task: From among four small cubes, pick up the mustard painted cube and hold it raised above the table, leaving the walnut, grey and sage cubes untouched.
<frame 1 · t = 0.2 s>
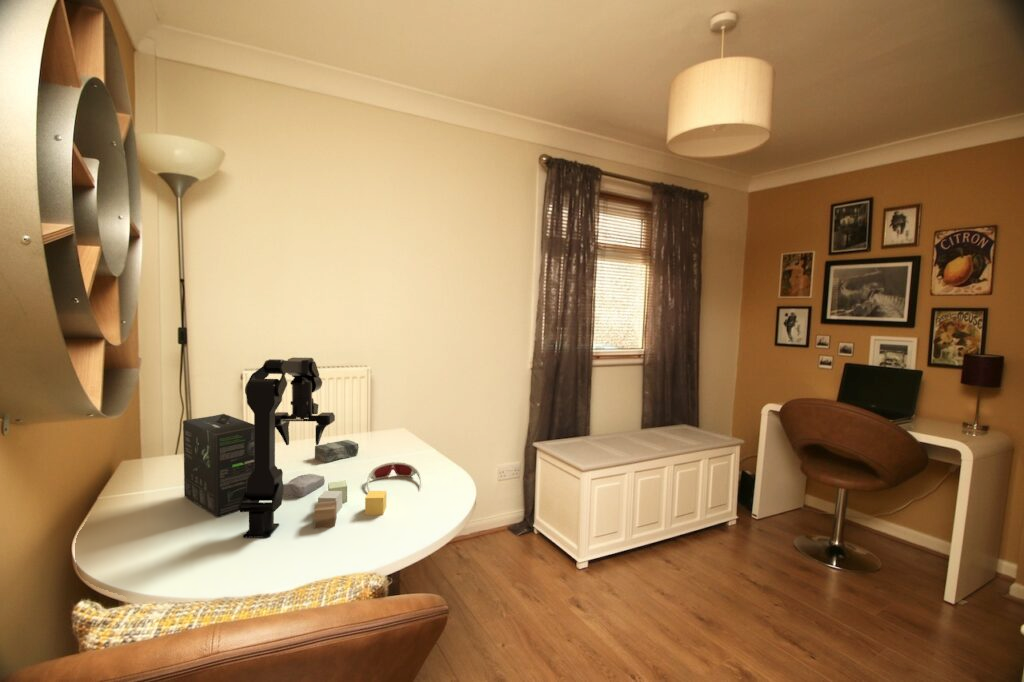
hand: (302, 444, 145), 15 cm above the table, fingers open, 9 cm apart
walnut cube: (325, 523, 123), on the table
sunglasses: (394, 485, 151), on the table
mustard cube: (376, 510, 131), on the table
stone block 2: (301, 490, 145), on the table
stone block: (337, 457, 178), on the table
sage cube: (337, 500, 138), on the table
grey cube: (330, 511, 131), on the table
headset box: (221, 501, 136), on the table
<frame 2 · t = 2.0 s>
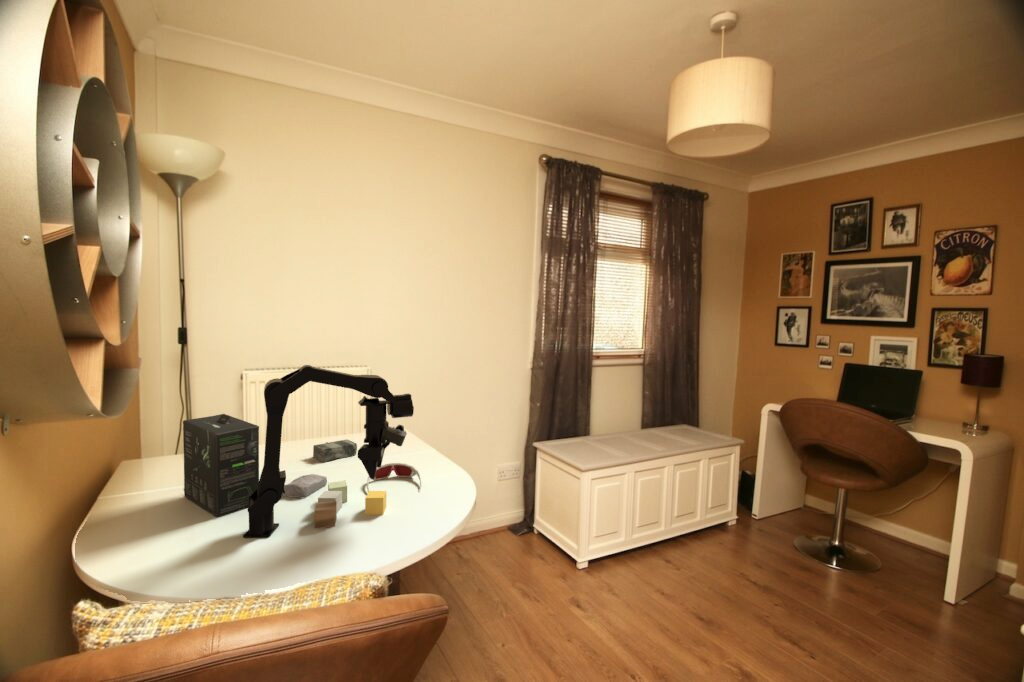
hand: (375, 472, 131), 11 cm above the table, fingers open, 9 cm apart
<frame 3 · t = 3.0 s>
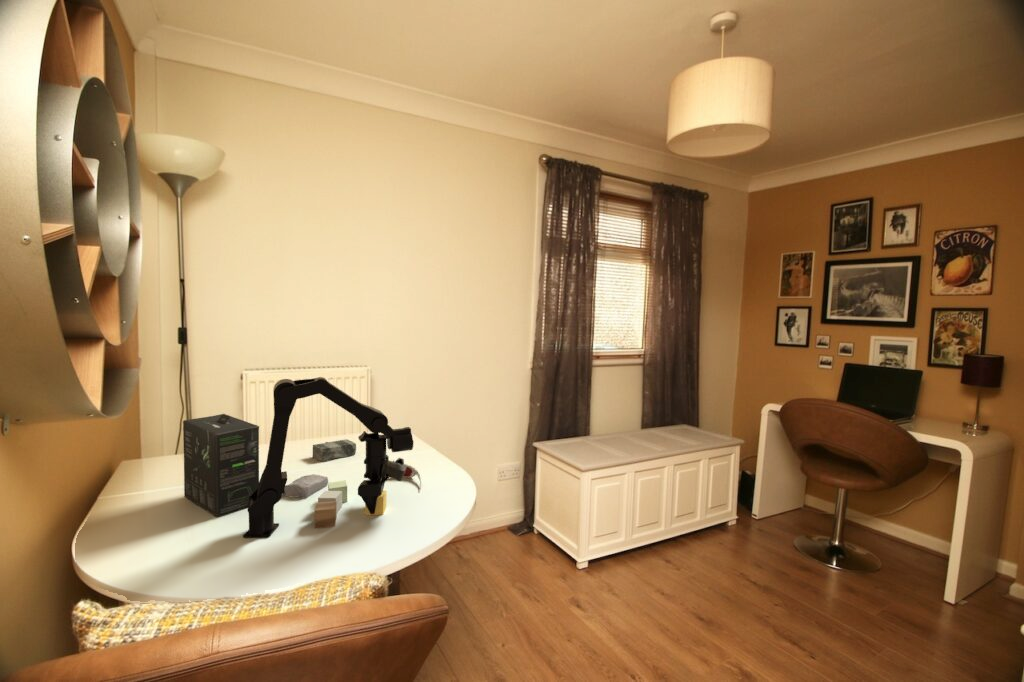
hand: (375, 506, 131), 1 cm above the table, fingers open, 9 cm apart
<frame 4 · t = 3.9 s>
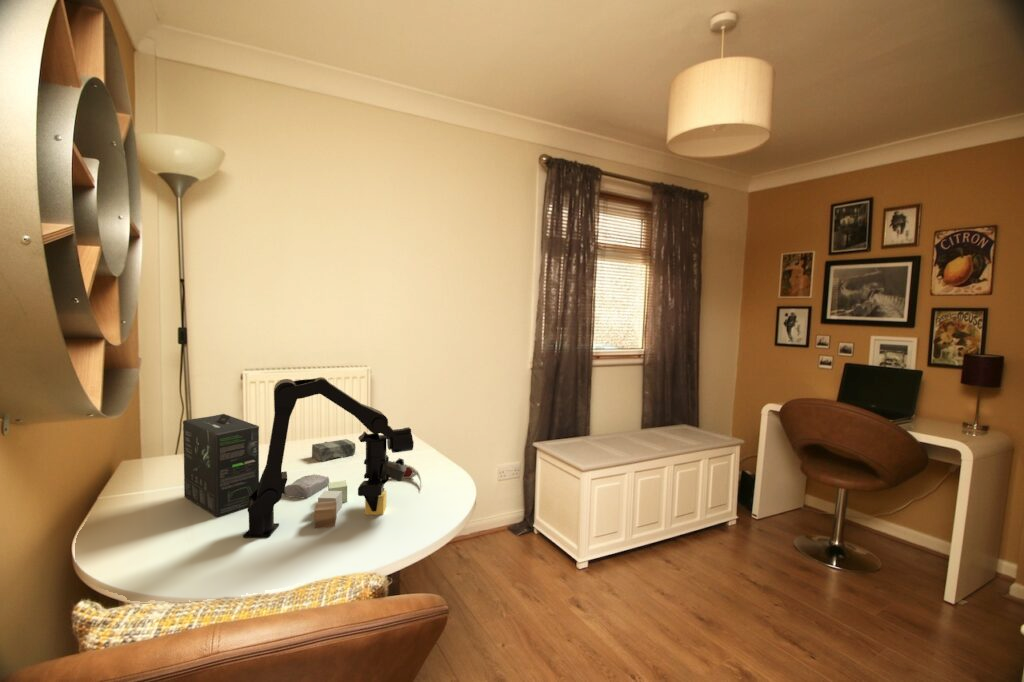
hand: (376, 507, 131), 1 cm above the table, fingers closed on mustard cube, 5 cm apart
mustard cube: (376, 510, 131), on the table, touching gripper
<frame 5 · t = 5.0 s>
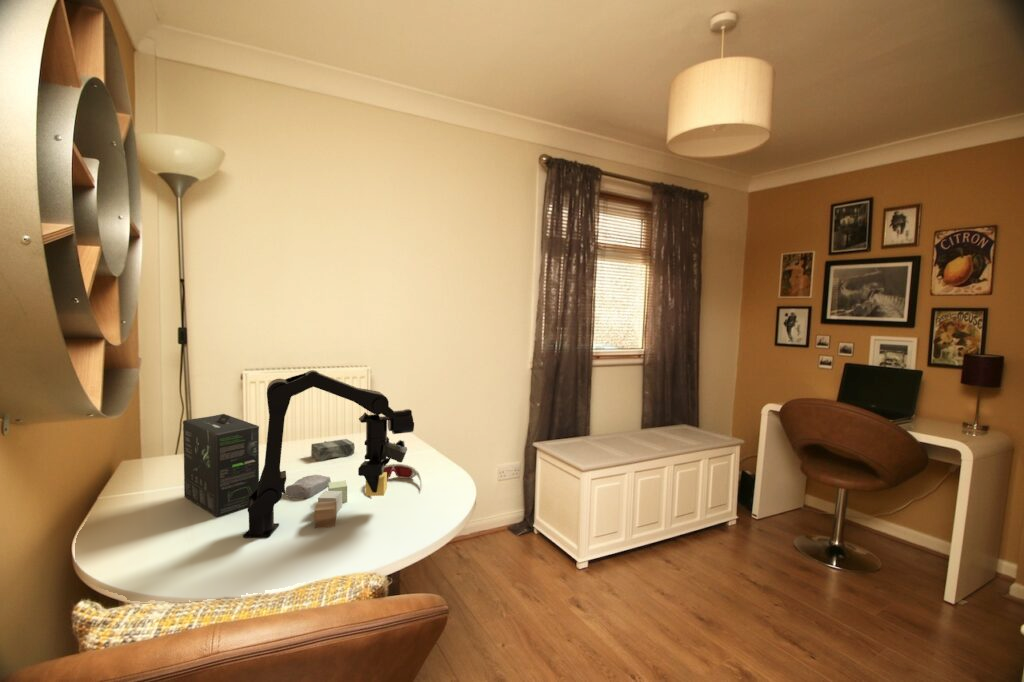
hand: (376, 488, 131), 7 cm above the table, fingers closed on mustard cube, 5 cm apart
mustard cube: (376, 492, 131), point 5 cm above the table, touching gripper
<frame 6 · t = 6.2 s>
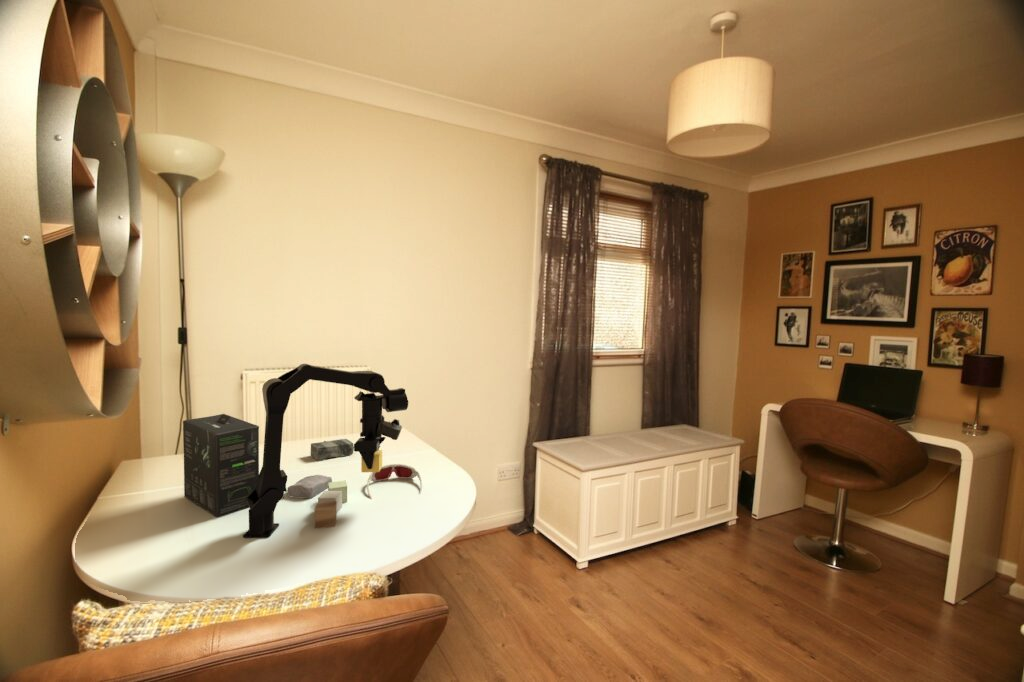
hand: (371, 465, 134), 12 cm above the table, fingers closed on mustard cube, 5 cm apart
mustard cube: (372, 469, 134), point 11 cm above the table, touching gripper
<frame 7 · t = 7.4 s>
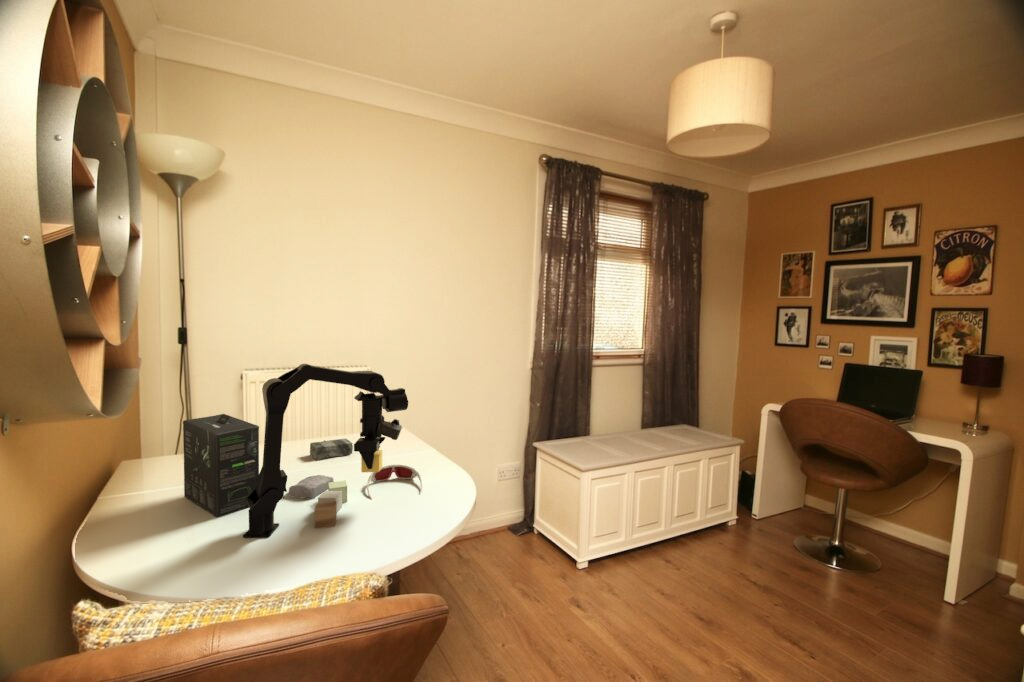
hand: (371, 465, 134), 12 cm above the table, fingers closed on mustard cube, 5 cm apart
mustard cube: (372, 469, 134), point 11 cm above the table, touching gripper
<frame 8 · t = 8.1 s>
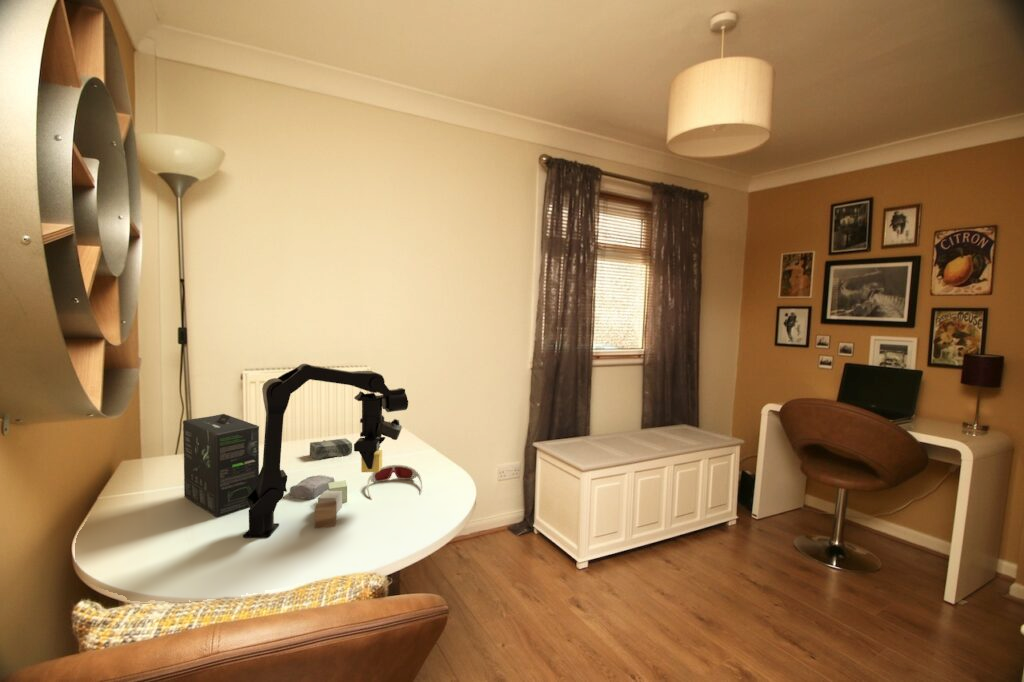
hand: (371, 465, 134), 12 cm above the table, fingers closed on mustard cube, 5 cm apart
mustard cube: (372, 469, 134), point 11 cm above the table, touching gripper
at the end: the gripper is holding mustard cube; mustard cube point 10.9 cm above the table; grey cube moved 0.1 cm from its start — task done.
